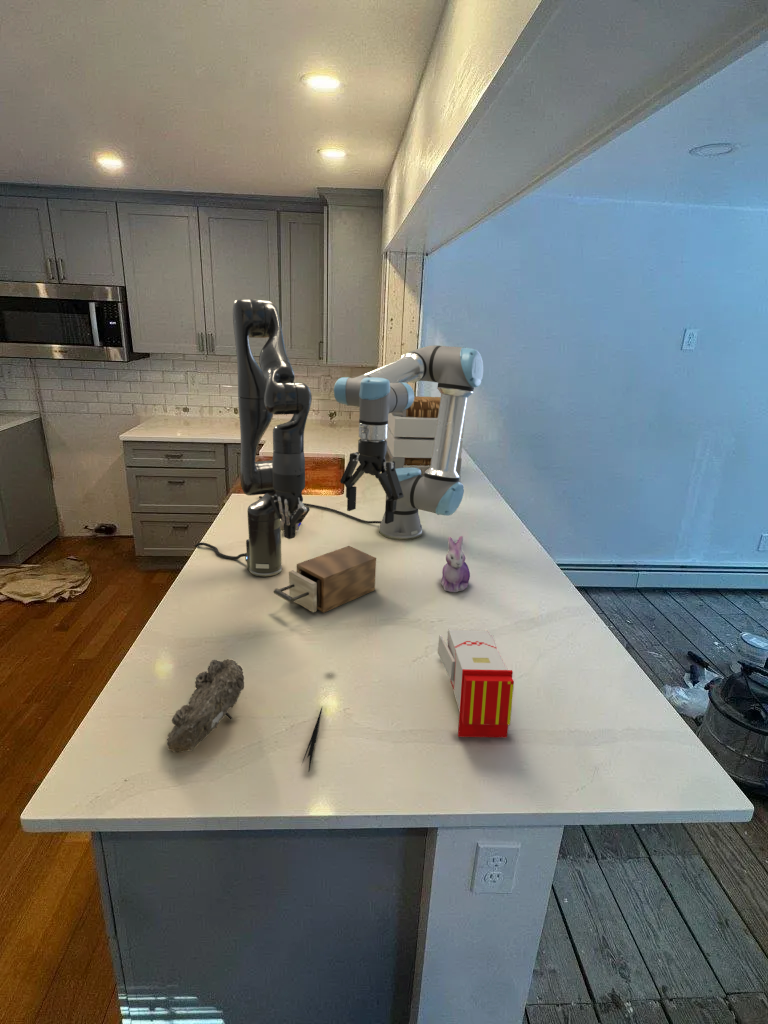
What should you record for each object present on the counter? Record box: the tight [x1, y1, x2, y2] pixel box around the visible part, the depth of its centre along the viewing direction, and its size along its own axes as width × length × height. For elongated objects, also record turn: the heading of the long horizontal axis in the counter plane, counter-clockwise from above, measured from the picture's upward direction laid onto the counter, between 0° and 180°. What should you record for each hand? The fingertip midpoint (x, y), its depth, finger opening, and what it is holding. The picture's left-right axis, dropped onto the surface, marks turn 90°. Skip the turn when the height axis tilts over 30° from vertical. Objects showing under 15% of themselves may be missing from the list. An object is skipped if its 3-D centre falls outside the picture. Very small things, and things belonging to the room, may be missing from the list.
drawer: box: [273, 569, 322, 613], centre depth 150 cm, size 24×10×8 cm, turn 136°
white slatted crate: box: [385, 395, 465, 483], centre depth 268 cm, size 34×33×41 cm
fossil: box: [166, 658, 245, 754], centre depth 106 cm, size 22×10×15 cm
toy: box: [437, 628, 515, 738], centre depth 117 cm, size 12×13×30 cm
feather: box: [301, 673, 332, 771], centre depth 108 cm, size 2×28×2 cm
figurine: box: [440, 535, 471, 593], centre depth 161 cm, size 9×10×15 cm
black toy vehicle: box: [281, 519, 302, 531], centre depth 198 cm, size 7×8×15 cm
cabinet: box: [296, 545, 377, 614], centre depth 155 cm, size 19×11×10 cm, turn 136°
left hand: (289, 537), depth 139 cm, fingers closed
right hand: (369, 516), depth 154 cm, fingers open, 13 cm apart
